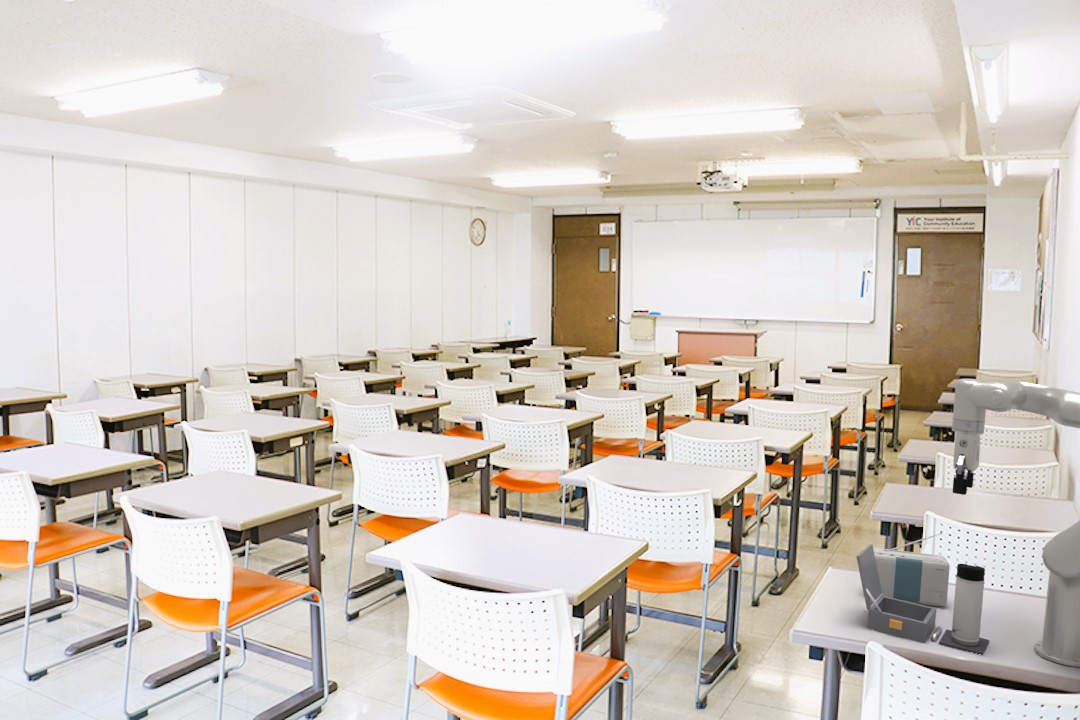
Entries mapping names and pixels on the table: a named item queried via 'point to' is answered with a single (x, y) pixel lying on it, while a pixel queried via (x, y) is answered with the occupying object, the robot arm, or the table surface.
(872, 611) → the case
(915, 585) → the stereo radio cassette player
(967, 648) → the pad
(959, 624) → the travel mug
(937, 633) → the rod
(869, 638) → the table surface
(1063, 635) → the robot arm
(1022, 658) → the table surface
